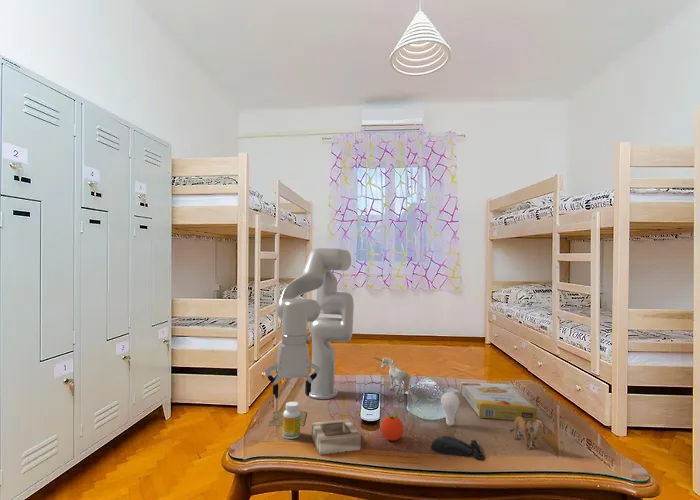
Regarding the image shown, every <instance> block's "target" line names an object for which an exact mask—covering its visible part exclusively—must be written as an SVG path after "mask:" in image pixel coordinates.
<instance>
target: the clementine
mask: <svg viewBox="0 0 700 500" xmlns="http://www.w3.org/2000/svg"><path fill="white" fill-rule="evenodd" d="M380 429H381V433H382V435H383V437H384V438H385V439H386V440H389V441H398V440H399V439H400V438H401V437H402V436H403V434H404V424H403V422H402V420H401V419H400V418H399V417H398V415H395V414H392V415H389V416H386V417H385V418H384V419H383V420H382V421H381V424H380Z"/></svg>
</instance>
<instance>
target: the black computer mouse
mask: <svg viewBox="0 0 700 500" xmlns="http://www.w3.org/2000/svg"><path fill="white" fill-rule="evenodd" d="M470 440H471V441H470V444H468V443H466V442H465V441H463V440H461V439H458V438H456V437H453V436H449V435H442V436H439V437H437V438H435V439H434V440H433V442H431V446H430V449H431V450H432V451H433V452H435V453H438V454H441V455H446V456H447V455H449V456H458V457H463V456H464V458H465V457H468V456H469V457H472V456H474V458H475V459H476V460H477V461H480V462H482V461H484V460H485V459H486V458H485V456H484V454H483V451H482V450H481V447H480V445H479V443H478V442H477V440H476V439H473V438H471V439H470ZM469 454H470V455H469Z"/></svg>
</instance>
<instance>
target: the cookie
mask: <svg viewBox="0 0 700 500" xmlns="http://www.w3.org/2000/svg"><path fill="white" fill-rule="evenodd" d="M284 411H285V410H283V411H282V410H277V411H276V410H275V411H274V412H273V414H272V416H271V419H270V421H269V423H268V426H270V427H271V426H272V427H274V426H275V427H283V413H284ZM300 413H301V415H300V427H304V426H305V424H306V419H307V414H308V411H300Z"/></svg>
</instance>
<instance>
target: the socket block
mask: <svg viewBox="0 0 700 500" xmlns="http://www.w3.org/2000/svg"><path fill="white" fill-rule="evenodd" d="M310 435H311V438H312V440H313V443H314V445H315V447H316V450H317V451H318V452H317V453H318V454H319V455H320V456H323V455H330V453H331V454H337V452H339V453H346V452H345V451H347V452H353V451H360V450H361V444H362V443H361V441H362V440H361V438H362V437H361V436H362V435H361V434H360V433H359V431H358V430H357V429H356V427H355V426H354V425H353V423H352V422H351V420H349V419H348V418H346V419H337V420H327V421H318V422H312V423H311V434H310Z"/></svg>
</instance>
